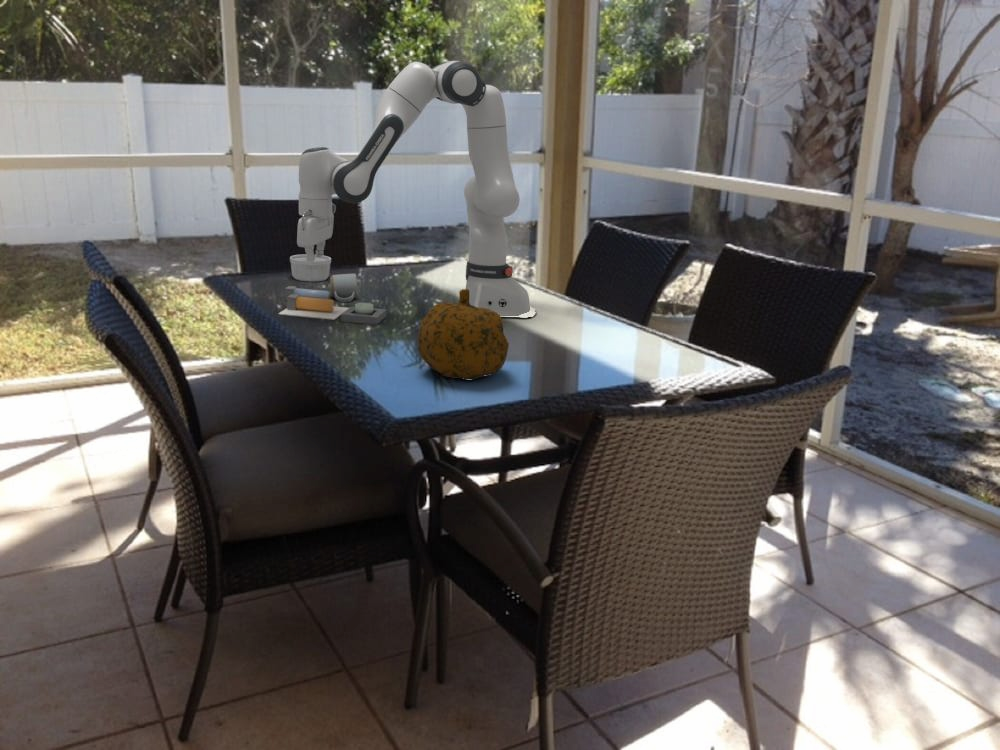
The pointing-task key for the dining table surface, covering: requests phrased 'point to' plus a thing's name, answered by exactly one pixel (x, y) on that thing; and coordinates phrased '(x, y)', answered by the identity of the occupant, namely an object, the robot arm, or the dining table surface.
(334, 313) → the paper
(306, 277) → the ramekin
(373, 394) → the dining table surface
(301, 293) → the marker blue
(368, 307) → the button
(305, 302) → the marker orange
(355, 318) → the button base
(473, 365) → the decorative pumpkin
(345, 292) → the ceramic mug
